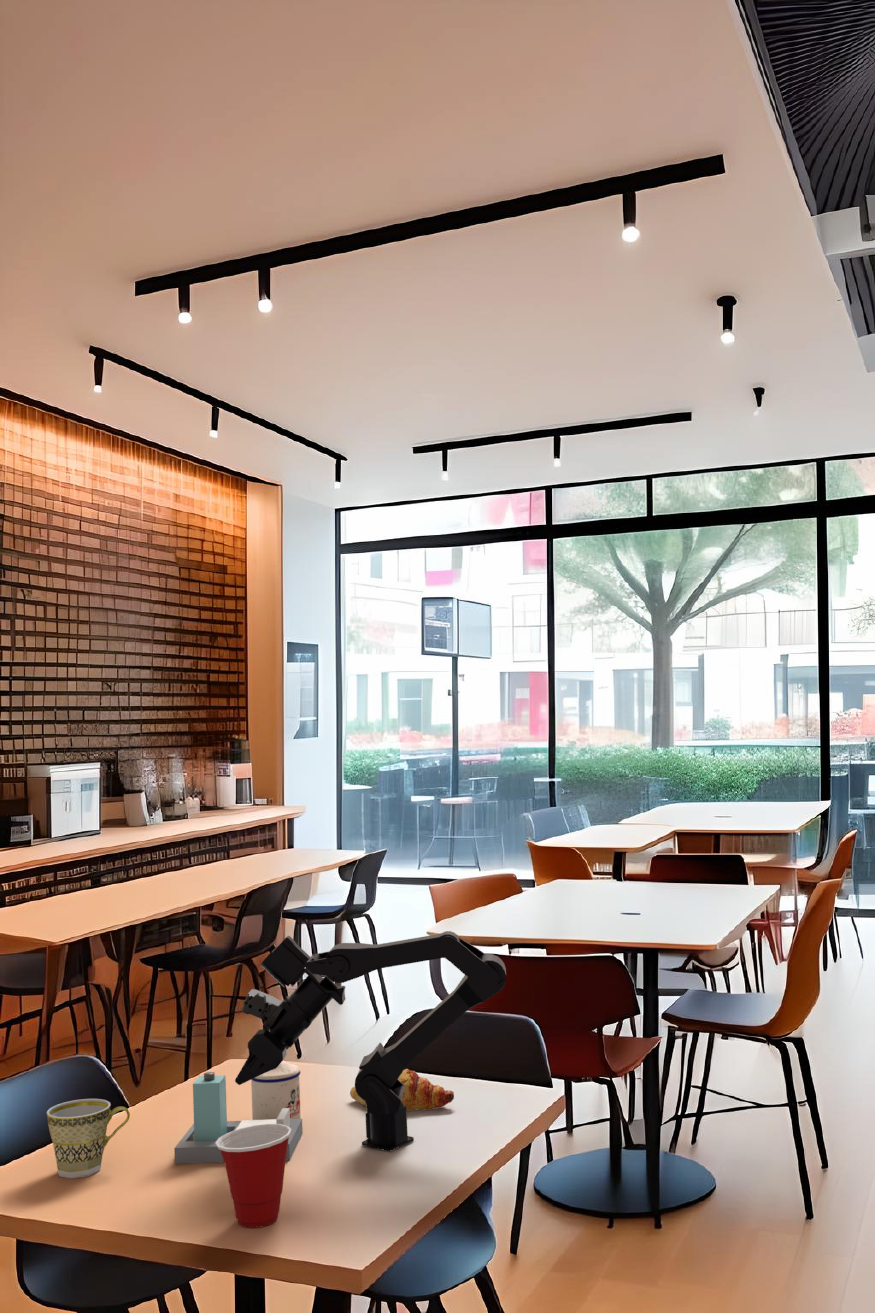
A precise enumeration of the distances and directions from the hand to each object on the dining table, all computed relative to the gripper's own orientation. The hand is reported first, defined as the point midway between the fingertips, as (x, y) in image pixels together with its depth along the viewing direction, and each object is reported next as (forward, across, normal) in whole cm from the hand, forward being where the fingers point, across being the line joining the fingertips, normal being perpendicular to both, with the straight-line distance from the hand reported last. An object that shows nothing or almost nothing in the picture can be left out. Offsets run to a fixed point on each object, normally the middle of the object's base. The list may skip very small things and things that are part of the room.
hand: (242, 1075), depth 193 cm
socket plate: (+10, 0, +8) cm, 12 cm away
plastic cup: (+3, +30, +14) cm, 34 cm away
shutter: (+5, 0, +9) cm, 10 cm away
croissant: (-8, -21, +27) cm, 35 cm away
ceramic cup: (+25, +8, -9) cm, 28 cm away
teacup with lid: (+7, -15, +11) cm, 19 cm away
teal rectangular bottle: (+13, 0, +4) cm, 13 cm away
